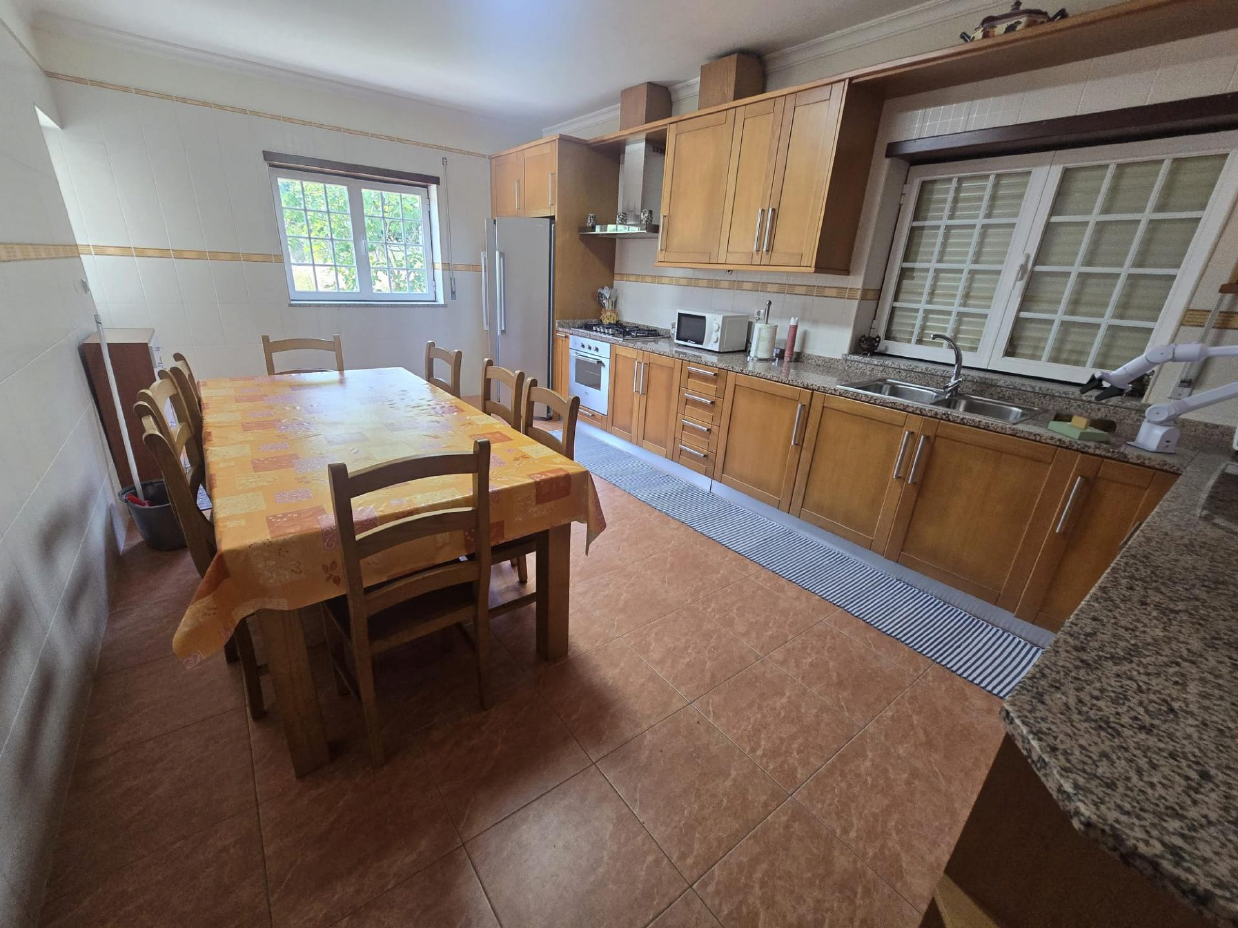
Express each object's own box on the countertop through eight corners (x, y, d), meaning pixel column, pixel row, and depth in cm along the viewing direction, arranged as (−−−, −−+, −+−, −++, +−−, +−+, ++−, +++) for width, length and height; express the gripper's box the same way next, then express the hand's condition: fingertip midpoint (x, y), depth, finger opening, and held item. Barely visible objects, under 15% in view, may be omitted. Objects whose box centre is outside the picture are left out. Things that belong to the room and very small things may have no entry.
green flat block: (1106, 441, 179) (1109, 432, 178) (1077, 439, 179) (1080, 431, 178) (1073, 430, 192) (1077, 422, 191) (1047, 428, 192) (1050, 420, 191)
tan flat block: (1087, 429, 182) (1091, 419, 180) (1083, 429, 182) (1087, 419, 180) (1073, 424, 187) (1077, 415, 186) (1070, 424, 187) (1073, 414, 186)
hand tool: (1051, 421, 205) (1055, 410, 203) (1053, 420, 207) (1058, 409, 205) (1112, 433, 191) (1117, 422, 189) (1114, 432, 193) (1119, 420, 192)
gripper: (1140, 371, 180) (1098, 395, 190) (1109, 356, 177) (1069, 381, 188) (1149, 385, 175) (1106, 408, 186) (1118, 370, 173) (1076, 394, 183)
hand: (1088, 396), depth 187 cm, fingers open, 7 cm apart
